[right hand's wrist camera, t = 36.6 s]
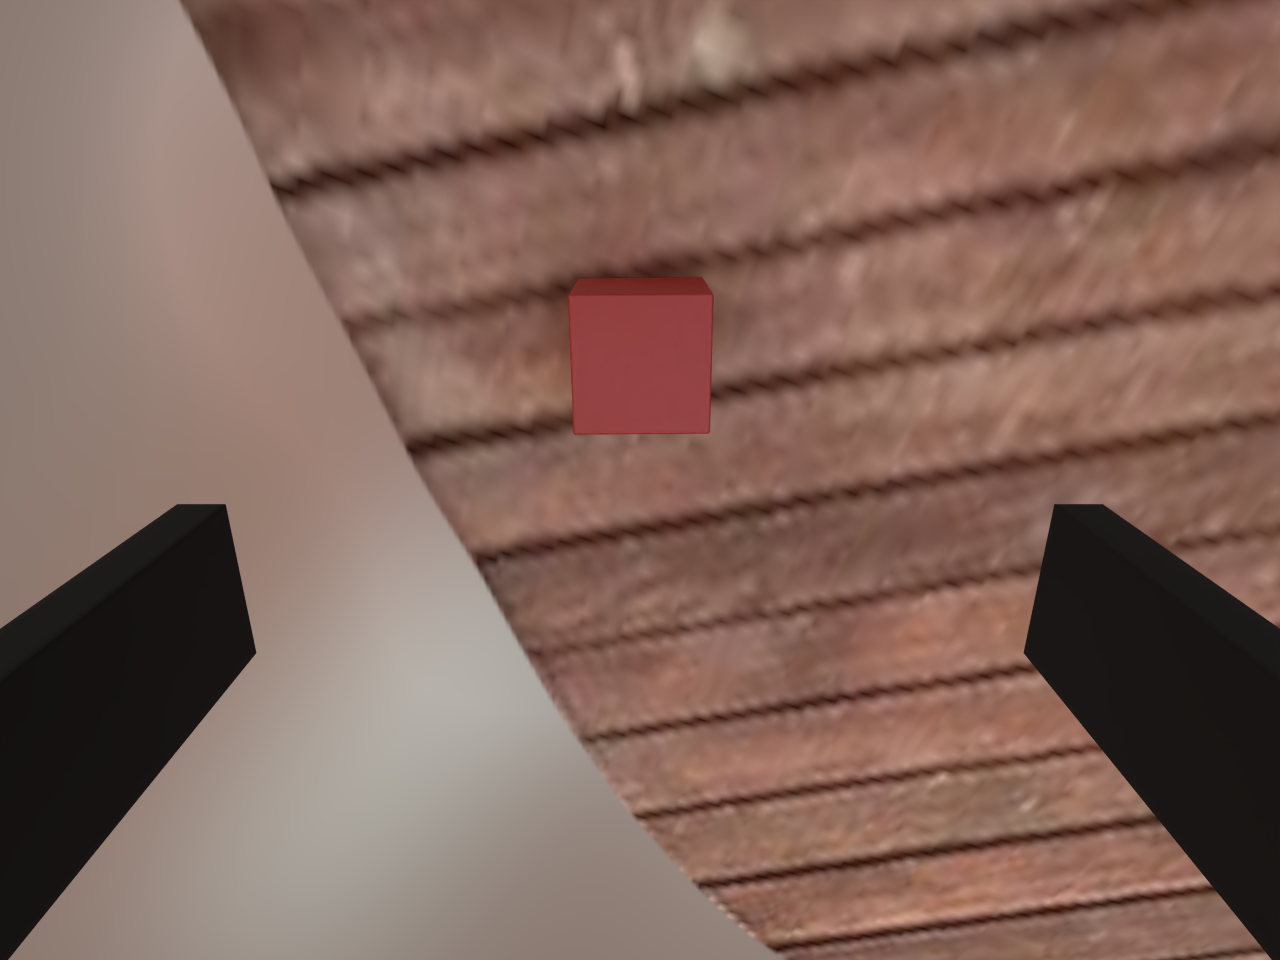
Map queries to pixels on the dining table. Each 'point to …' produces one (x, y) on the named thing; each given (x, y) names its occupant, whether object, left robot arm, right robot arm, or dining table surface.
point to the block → (641, 355)
